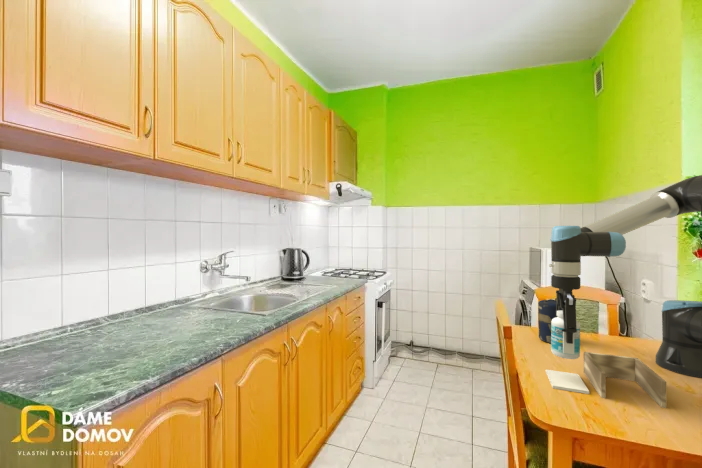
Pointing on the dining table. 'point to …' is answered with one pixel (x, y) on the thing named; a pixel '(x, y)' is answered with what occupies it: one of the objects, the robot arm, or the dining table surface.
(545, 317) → the canister
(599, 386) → the beige three-walled frame
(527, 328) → the dining table surface
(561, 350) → the pill bottle
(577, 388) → the tile
